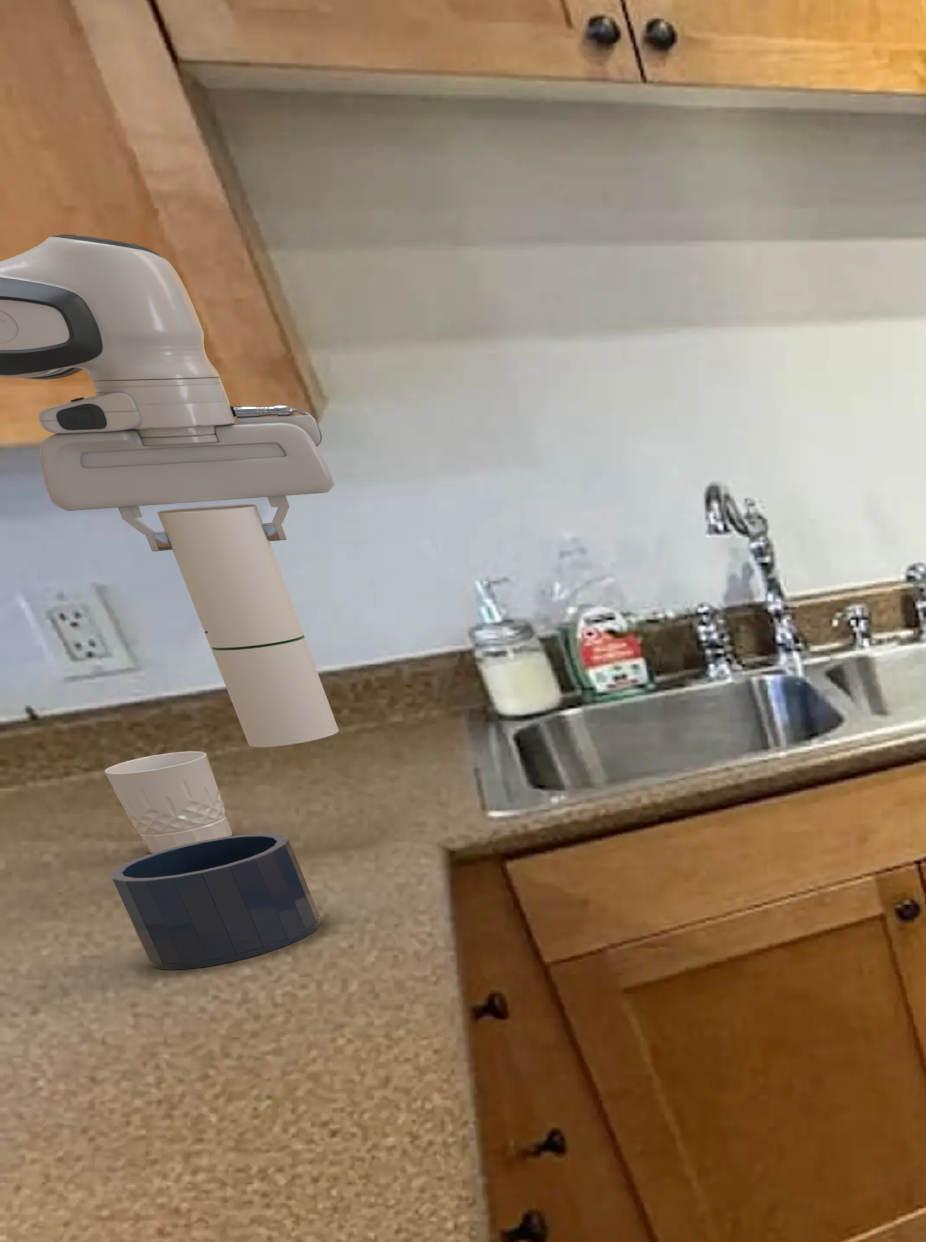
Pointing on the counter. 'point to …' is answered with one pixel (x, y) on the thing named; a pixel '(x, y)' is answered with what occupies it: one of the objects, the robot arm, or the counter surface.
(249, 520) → the cylindrical container
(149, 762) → the white cup
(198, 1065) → the counter surface
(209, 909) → the crock
